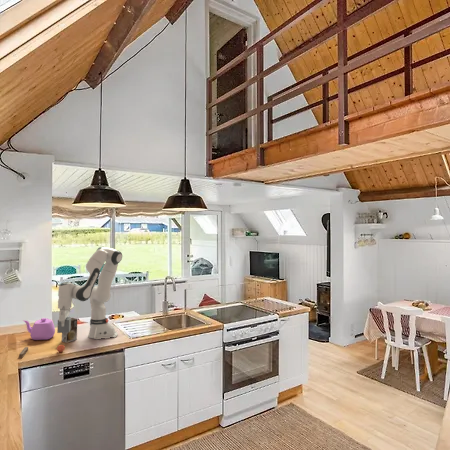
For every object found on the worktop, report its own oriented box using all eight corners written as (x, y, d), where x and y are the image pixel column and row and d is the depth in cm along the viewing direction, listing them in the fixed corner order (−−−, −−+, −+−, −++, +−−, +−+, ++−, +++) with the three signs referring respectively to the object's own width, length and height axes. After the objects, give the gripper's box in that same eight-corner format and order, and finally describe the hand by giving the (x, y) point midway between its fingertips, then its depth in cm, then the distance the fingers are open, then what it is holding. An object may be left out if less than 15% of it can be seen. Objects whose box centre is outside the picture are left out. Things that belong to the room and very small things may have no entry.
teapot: (57, 332, 284) (58, 314, 284) (51, 340, 263) (52, 321, 263) (27, 333, 278) (27, 314, 278) (18, 342, 258) (19, 321, 258)
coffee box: (71, 338, 271) (72, 317, 272) (77, 339, 268) (77, 318, 268) (61, 341, 263) (62, 319, 264) (66, 342, 260) (67, 321, 260)
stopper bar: (28, 350, 242) (28, 346, 242) (22, 357, 228) (22, 354, 228) (24, 350, 241) (25, 347, 241) (19, 358, 228) (19, 354, 228)
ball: (65, 350, 244) (65, 343, 244) (64, 353, 240) (64, 345, 240) (57, 351, 243) (57, 343, 243) (56, 353, 238) (56, 346, 238)
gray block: (70, 329, 251) (70, 317, 251) (68, 332, 244) (69, 319, 244) (59, 329, 249) (59, 317, 249) (57, 332, 242) (57, 320, 242)
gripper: (66, 308, 237) (66, 328, 237) (71, 301, 257) (71, 320, 257) (56, 308, 236) (56, 329, 236) (62, 302, 255) (62, 320, 255)
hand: (64, 324), depth 247 cm, fingers closed on gray block, 7 cm apart
